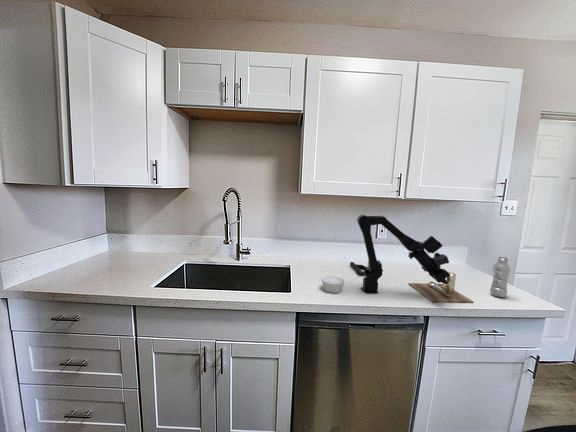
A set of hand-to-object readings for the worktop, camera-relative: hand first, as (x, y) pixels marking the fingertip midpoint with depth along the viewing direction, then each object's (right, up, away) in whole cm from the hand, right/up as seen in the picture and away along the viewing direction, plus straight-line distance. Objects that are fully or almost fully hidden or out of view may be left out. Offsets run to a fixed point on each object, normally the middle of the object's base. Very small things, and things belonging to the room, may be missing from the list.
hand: (446, 283), depth 119 cm
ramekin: (-54, -5, +7) cm, 55 cm away
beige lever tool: (+1, -6, +7) cm, 9 cm away
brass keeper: (+4, -6, +6) cm, 10 cm away
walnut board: (0, -7, +7) cm, 10 cm away
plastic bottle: (+30, -8, +6) cm, 32 cm away
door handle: (-28, -3, +37) cm, 47 cm away
